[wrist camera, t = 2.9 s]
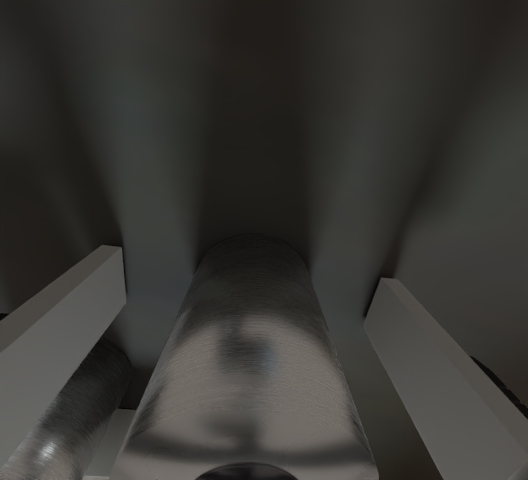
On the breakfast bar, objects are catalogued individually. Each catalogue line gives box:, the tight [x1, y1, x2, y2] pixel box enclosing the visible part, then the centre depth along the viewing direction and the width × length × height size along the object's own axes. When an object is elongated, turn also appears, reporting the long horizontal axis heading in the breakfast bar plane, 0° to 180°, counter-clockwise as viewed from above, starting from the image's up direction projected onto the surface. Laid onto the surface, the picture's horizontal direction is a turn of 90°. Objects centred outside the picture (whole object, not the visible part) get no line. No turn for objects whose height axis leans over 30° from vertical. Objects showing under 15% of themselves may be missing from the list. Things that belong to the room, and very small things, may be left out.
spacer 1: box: [0, 337, 132, 480], centre depth 10 cm, size 5×5×7 cm
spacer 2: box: [109, 234, 379, 480], centre depth 8 cm, size 5×5×7 cm
